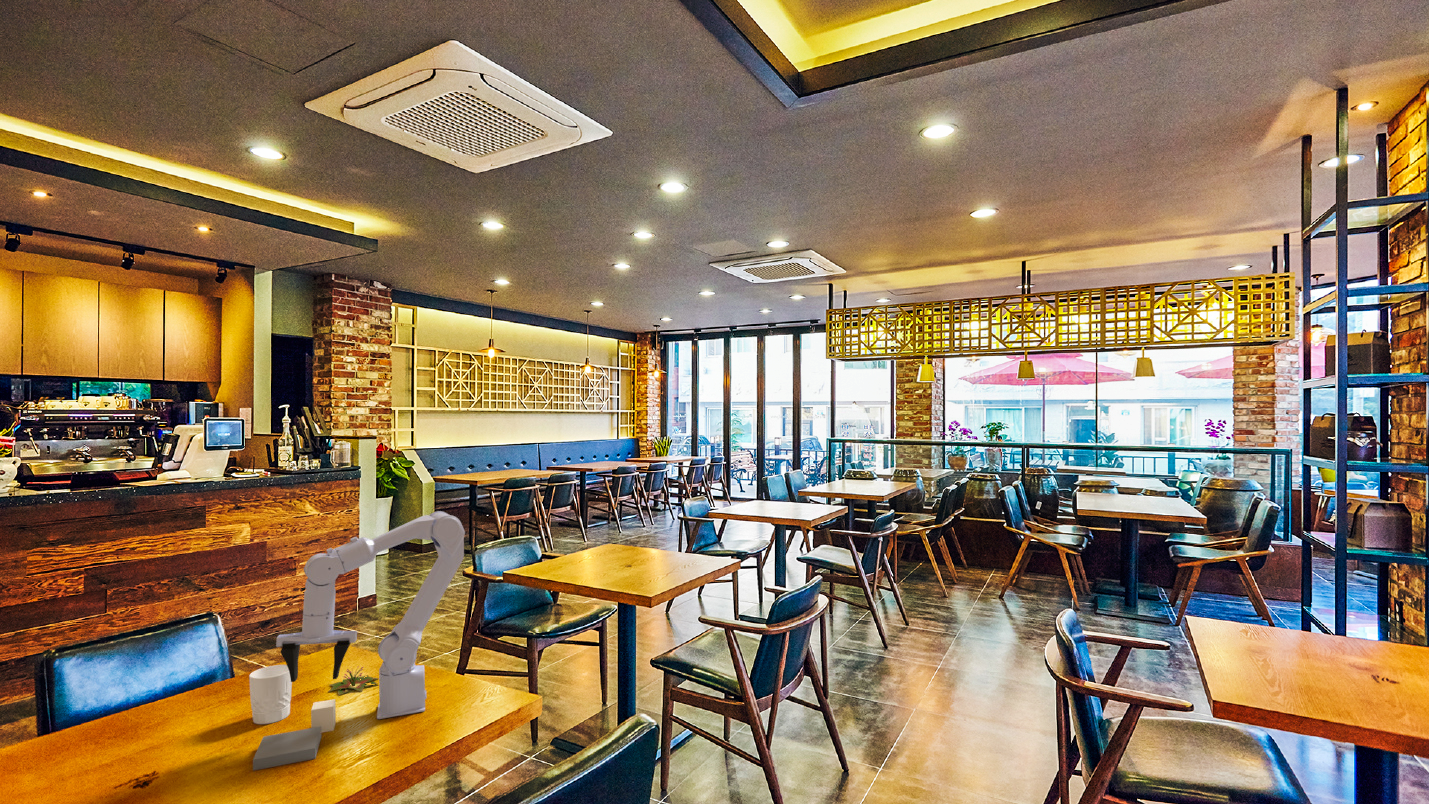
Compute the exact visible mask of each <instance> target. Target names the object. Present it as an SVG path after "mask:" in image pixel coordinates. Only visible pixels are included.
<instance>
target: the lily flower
mask: <svg viewBox="0 0 1429 804" xmlns="http://www.w3.org/2000/svg"><path fill="white" fill-rule="evenodd" d="M357 668H359V666H357ZM363 668H364V666H362V667H361V668H360V669H359V670H358V669H356V671H355V673H354V672H353V669H351V670H349V669H348V668H347V669H346V673H344V676H342V677H343V678H344V679H342V681H337V682H334V683H331V684H329V686H332V687H331V688H329V690H328V691H327V693H329V692H332V691H335V690H337V694H338V696H341V695H343V694H346V693H348V692H352V691H355V690H356V691H359V692H363V690H364V688H367V687H368V685H366V684H365V683H367V682H371V684H378V683H377V682H375V681H373V679H374V680H378V677H373V676H369V675H368V674H367V675H362V674H363V672H361V671H363ZM357 670H358V671H357ZM347 673H348V674H349V676H348V674H347ZM353 673H354V674H353ZM358 674H359V675H358ZM365 676H367V677H365ZM364 677H365V678H364ZM360 679H361V680H360ZM350 684H351V685H350ZM356 684H359V685H357V686H356ZM349 686H351V687H349ZM364 686H365V687H364ZM373 686H375V685H373ZM346 689H349V690H346Z"/></svg>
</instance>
